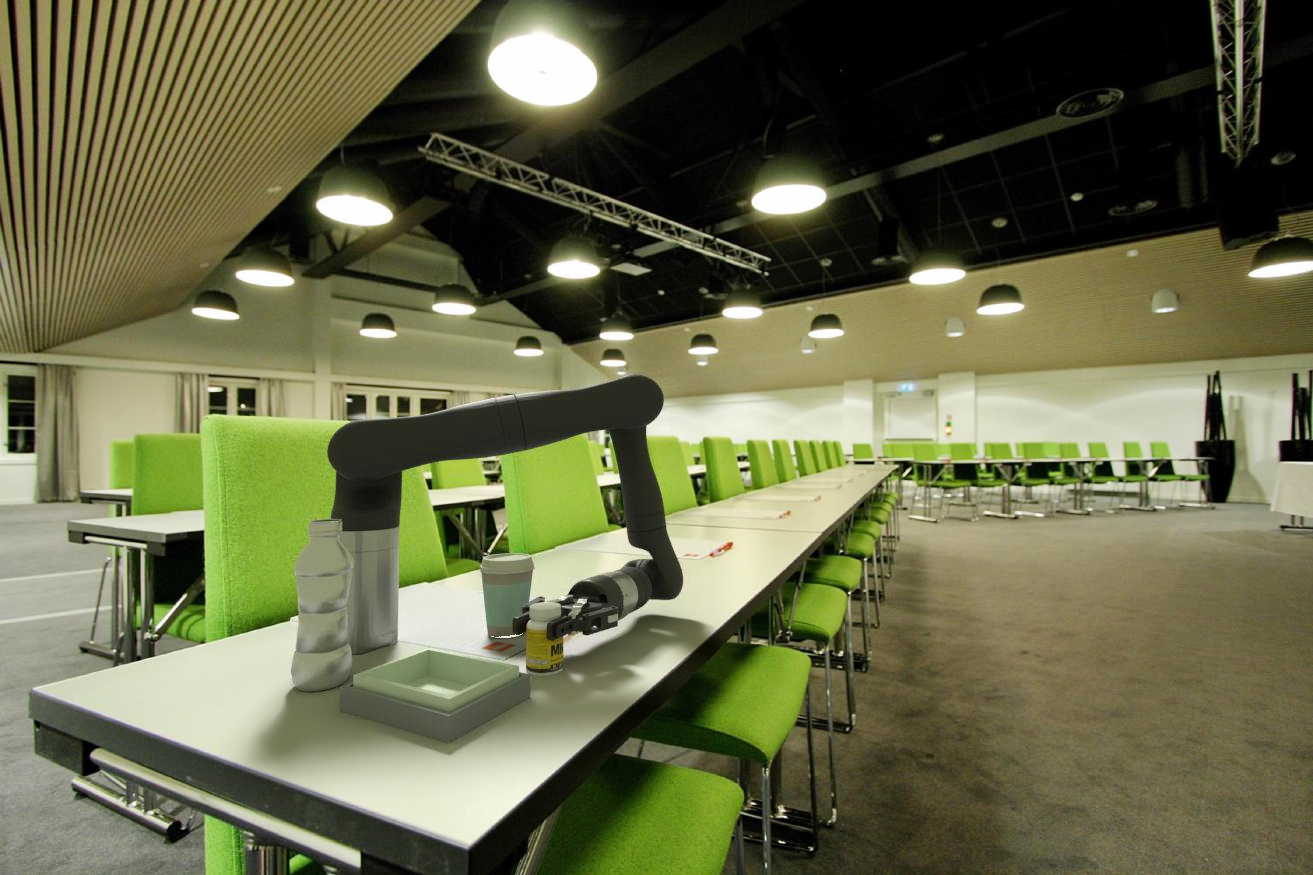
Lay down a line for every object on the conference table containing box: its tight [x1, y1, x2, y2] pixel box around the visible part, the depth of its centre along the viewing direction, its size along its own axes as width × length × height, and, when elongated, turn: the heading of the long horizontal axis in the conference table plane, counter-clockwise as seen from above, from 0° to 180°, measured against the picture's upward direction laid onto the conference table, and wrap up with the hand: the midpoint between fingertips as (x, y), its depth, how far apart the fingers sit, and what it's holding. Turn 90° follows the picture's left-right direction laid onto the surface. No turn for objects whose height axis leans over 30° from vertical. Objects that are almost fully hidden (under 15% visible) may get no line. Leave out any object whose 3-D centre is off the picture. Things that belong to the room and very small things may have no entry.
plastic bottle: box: [290, 518, 354, 693], centre depth 70 cm, size 6×7×20 cm
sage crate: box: [352, 647, 520, 713], centre depth 64 cm, size 14×10×4 cm
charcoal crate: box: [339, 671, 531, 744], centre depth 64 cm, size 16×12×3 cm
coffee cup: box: [478, 552, 536, 637], centre depth 92 cm, size 8×9×12 cm
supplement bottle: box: [525, 602, 564, 677], centre depth 75 cm, size 5×5×8 cm
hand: (532, 629), depth 72 cm, fingers closed on supplement bottle, 4 cm apart
